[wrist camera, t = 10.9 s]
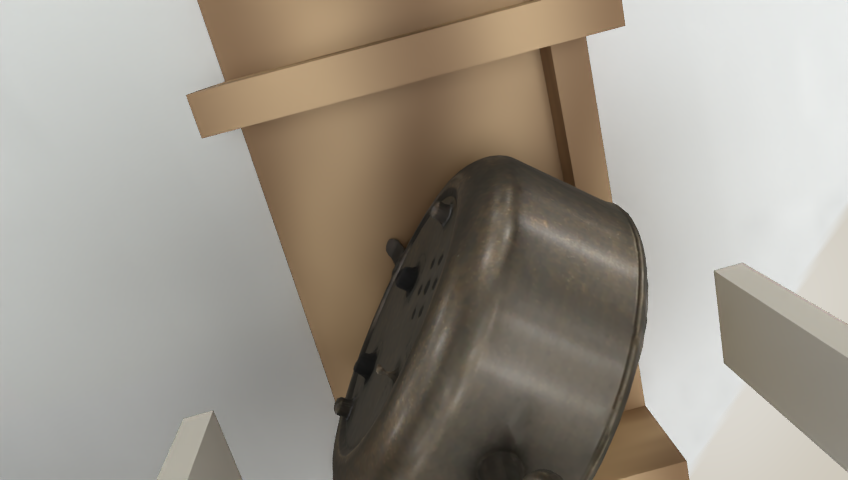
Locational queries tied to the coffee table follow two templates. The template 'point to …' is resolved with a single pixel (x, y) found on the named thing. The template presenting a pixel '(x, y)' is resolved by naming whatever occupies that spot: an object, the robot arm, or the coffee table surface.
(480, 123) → the wooden rack
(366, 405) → the alarm clock
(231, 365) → the coffee table surface
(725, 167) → the coffee table surface
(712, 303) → the coffee table surface
